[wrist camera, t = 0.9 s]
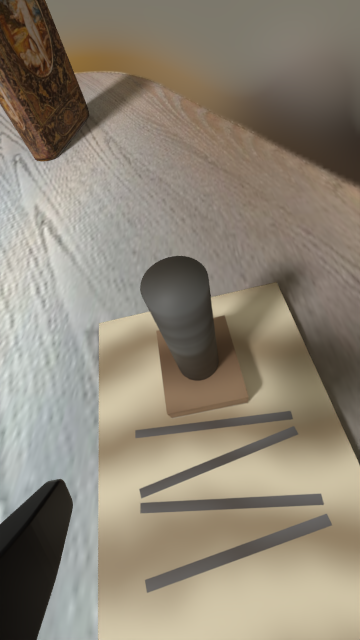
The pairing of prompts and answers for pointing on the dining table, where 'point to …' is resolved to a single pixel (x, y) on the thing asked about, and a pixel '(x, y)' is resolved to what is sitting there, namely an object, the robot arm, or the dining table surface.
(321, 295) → the dining table surface
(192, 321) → the grey post on base
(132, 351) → the birch board
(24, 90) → the book
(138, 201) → the dining table surface
